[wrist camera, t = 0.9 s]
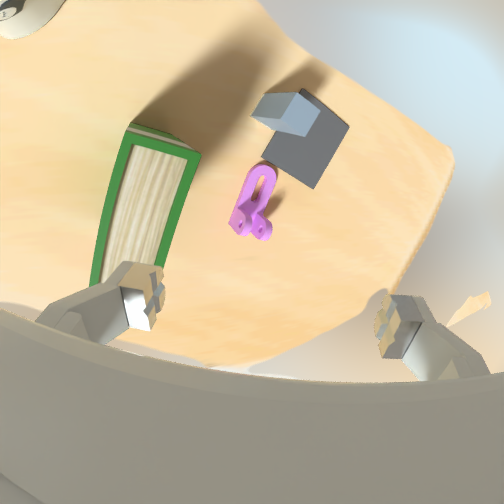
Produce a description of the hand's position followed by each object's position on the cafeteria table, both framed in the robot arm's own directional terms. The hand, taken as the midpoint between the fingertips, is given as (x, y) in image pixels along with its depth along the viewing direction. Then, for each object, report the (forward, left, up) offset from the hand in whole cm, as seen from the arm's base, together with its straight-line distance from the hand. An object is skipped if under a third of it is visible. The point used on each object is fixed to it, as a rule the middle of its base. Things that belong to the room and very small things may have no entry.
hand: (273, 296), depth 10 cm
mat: (+3, +28, -43) cm, 52 cm away
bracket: (+13, +16, -44) cm, 48 cm away
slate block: (-4, +20, -43) cm, 48 cm away
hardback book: (+4, -5, -43) cm, 44 cm away
